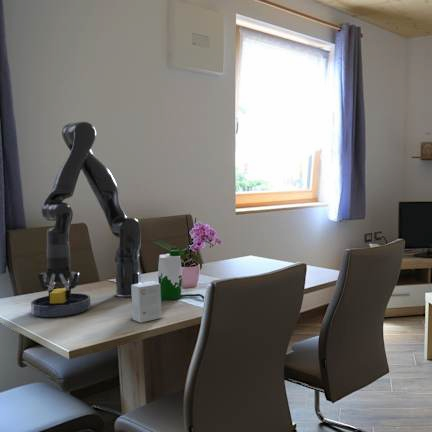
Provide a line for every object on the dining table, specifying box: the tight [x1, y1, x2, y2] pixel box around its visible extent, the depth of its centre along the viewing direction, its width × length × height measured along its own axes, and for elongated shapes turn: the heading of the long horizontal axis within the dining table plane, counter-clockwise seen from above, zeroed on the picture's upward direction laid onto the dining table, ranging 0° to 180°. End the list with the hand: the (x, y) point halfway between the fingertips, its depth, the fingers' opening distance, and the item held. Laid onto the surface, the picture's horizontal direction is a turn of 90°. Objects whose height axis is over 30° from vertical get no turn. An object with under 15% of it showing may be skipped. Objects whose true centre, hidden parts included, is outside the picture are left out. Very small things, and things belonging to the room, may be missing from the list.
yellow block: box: [50, 287, 67, 303], centre depth 207 cm, size 7×5×4 cm, turn 13°
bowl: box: [30, 292, 91, 318], centre depth 208 cm, size 19×19×4 cm
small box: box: [131, 280, 163, 324], centre depth 199 cm, size 8×6×13 cm
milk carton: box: [157, 249, 183, 301], centre depth 229 cm, size 9×9×20 cm
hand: (60, 299), depth 207 cm, fingers closed on yellow block, 4 cm apart
